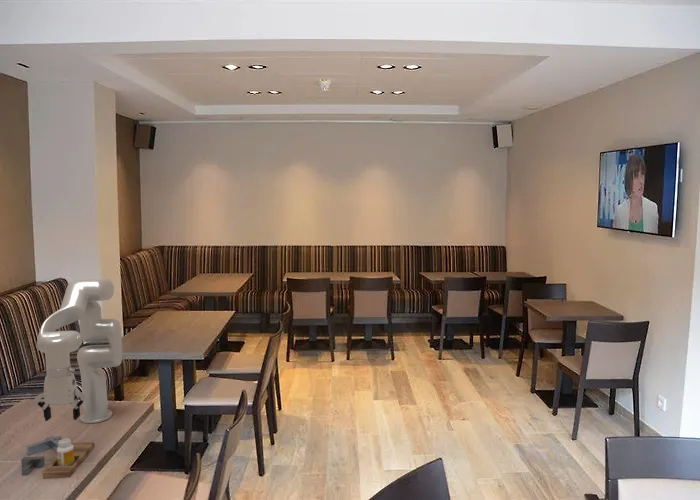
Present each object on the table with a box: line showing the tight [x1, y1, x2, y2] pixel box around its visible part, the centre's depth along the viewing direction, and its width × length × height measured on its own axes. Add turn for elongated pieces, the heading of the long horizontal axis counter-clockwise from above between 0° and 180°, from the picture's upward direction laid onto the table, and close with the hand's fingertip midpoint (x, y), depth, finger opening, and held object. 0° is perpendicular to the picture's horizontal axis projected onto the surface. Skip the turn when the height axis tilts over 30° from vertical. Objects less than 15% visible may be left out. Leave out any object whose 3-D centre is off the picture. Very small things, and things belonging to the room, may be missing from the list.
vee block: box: [25, 435, 62, 457], centre depth 219 cm, size 9×14×3 cm, turn 93°
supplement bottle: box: [56, 437, 75, 466], centre depth 205 cm, size 5×5×10 cm
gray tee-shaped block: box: [20, 455, 45, 476], centre depth 204 cm, size 7×7×3 cm
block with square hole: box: [42, 441, 95, 479], centre depth 209 cm, size 22×9×2 cm, turn 3°
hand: (62, 418), depth 203 cm, fingers open, 9 cm apart
